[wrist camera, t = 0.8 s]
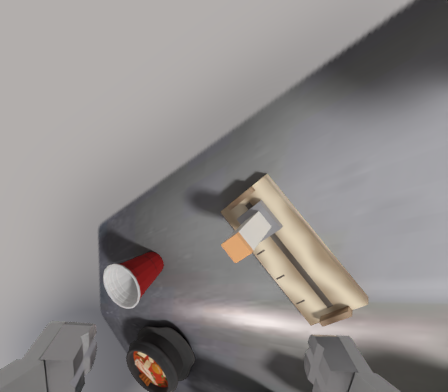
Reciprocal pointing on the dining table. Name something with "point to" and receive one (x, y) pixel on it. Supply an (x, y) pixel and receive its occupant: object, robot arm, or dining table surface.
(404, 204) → the dining table surface
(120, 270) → the plastic cup
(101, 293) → the dining table surface
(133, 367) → the casserole
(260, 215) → the fader handle
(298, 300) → the fader console
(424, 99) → the dining table surface
